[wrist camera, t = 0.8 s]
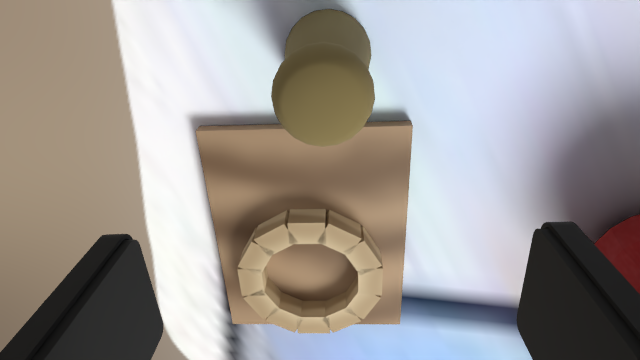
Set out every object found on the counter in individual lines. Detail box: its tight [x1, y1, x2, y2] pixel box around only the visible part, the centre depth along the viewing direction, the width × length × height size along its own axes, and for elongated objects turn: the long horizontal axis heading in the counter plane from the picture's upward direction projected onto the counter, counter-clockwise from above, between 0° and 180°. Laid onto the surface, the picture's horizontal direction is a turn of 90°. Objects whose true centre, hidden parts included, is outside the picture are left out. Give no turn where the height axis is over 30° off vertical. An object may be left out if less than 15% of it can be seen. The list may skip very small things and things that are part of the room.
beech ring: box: [237, 209, 383, 333], centre depth 37 cm, size 12×12×2 cm
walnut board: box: [196, 121, 413, 324], centre depth 37 cm, size 20×16×1 cm
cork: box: [271, 9, 375, 147], centre depth 25 cm, size 6×6×11 cm
